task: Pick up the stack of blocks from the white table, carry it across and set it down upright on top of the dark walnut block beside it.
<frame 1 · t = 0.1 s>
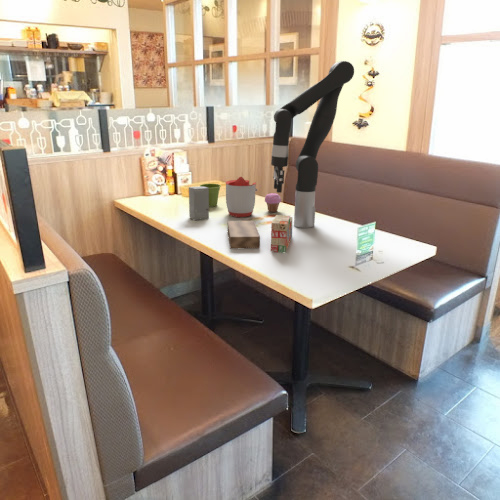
hand: (277, 190, 208), 17 cm above the table, tool pointing down, fingers open, 8 cm apart
citrus juicer: (241, 215, 233), on the table
skincare box: (199, 218, 226), on the table
stack of blocks: (281, 244, 189), on the table
cupcake: (272, 211, 241), on the table
walnut block: (242, 239, 194), on the table
plant pot: (210, 205, 252), on the table
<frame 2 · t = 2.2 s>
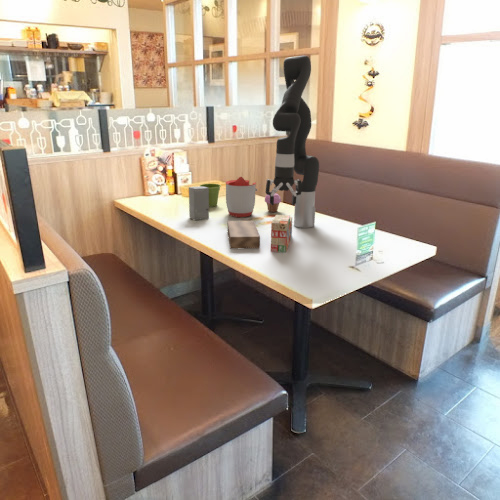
hand: (282, 204, 183), 17 cm above the table, tool pointing down, fingers open, 8 cm apart
nothing on the table moved.
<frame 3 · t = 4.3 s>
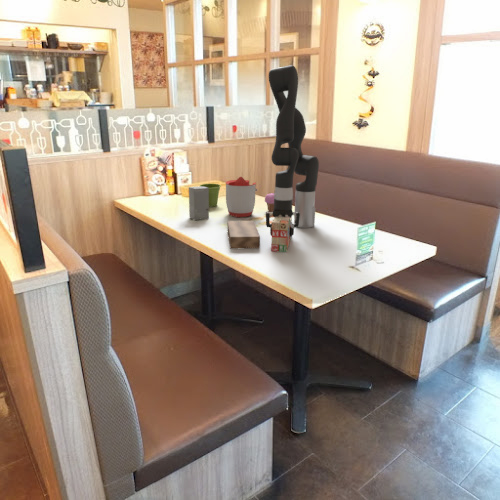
hand: (281, 236, 187), 3 cm above the table, tool pointing down, fingers closed on stack of blocks, 7 cm apart
stack of blocks: (281, 244, 189), on the table, touching gripper
everything else where it was.
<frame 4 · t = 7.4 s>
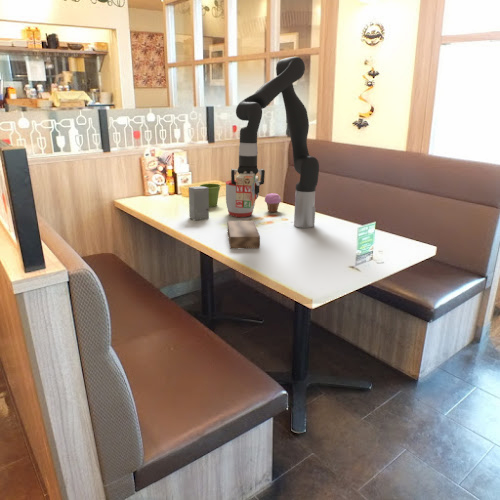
hand: (247, 194, 186), 20 cm above the table, tool pointing down, fingers closed on stack of blocks, 7 cm apart
stack of blocks: (247, 202, 188), point 16 cm above the table, touching gripper
everything else where it was.
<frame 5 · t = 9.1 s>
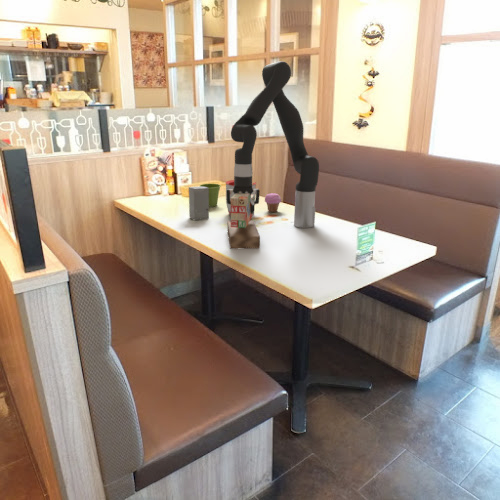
hand: (242, 213, 190), 12 cm above the table, tool pointing down, fingers closed on stack of blocks, 7 cm apart
stack of blocks: (242, 221, 191), point 8 cm above the table, touching gripper
everything else where it was.
when the fingers open (10 cm above the table, at t = 10.5 s): stack of blocks drops 1 cm, resting on walnut block.
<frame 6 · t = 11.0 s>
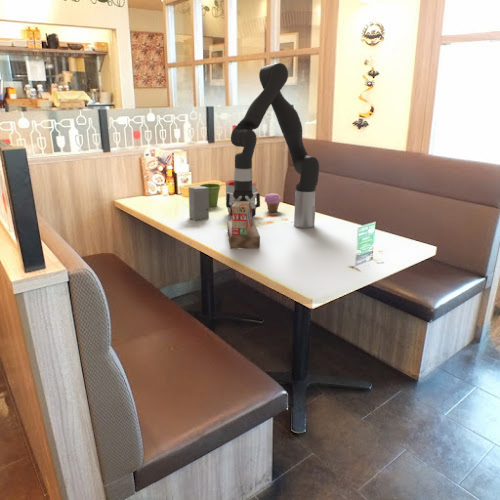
hand: (242, 216, 190), 10 cm above the table, tool pointing down, fingers open, 8 cm apart
stack of blocks: (243, 228, 193), point 5 cm above the table, touching walnut block
everything else where it was.
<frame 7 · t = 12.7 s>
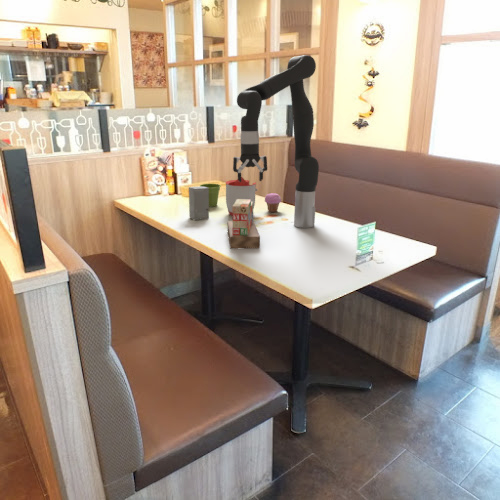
hand: (250, 181, 190), 25 cm above the table, tool pointing down, fingers open, 8 cm apart
nothing on the table moved.
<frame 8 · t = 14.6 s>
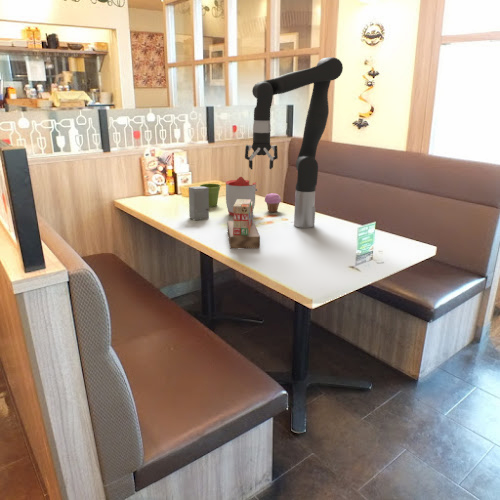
hand: (260, 169, 198), 28 cm above the table, tool pointing down, fingers open, 8 cm apart
nothing on the table moved.
at the end: stack of blocks inside the target area on the walnut block (0.8 cm from its centre), point 4.8 cm above the walnut block's base; stack of blocks tilted 0°; the gripper is holding nothing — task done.
